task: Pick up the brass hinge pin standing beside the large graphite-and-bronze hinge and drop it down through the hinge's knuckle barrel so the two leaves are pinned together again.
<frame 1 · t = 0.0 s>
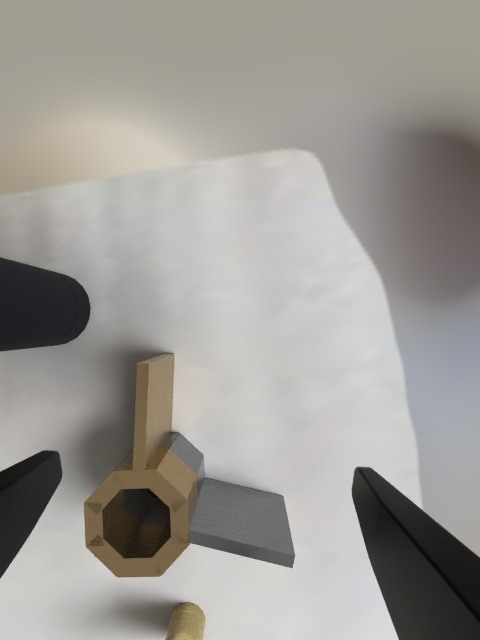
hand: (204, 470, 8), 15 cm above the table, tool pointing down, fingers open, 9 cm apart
hinge: (165, 472, 24), on the table
hinge pin: (188, 620, 23), on the table
dark tall rounded piece: (57, 309, 24), on the table
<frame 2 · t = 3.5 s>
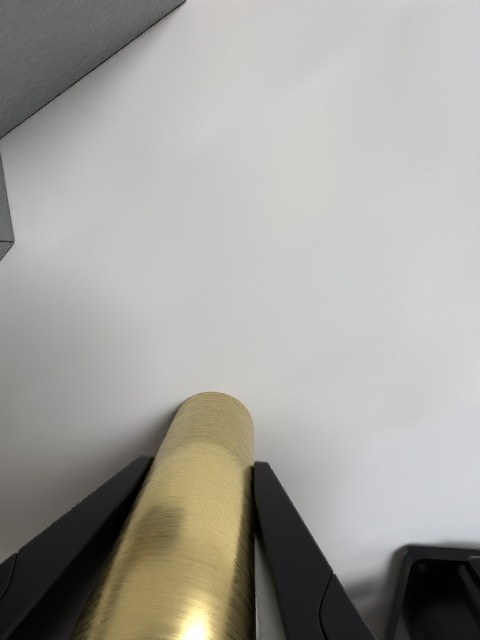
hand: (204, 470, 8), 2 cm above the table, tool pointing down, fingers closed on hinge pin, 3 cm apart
hinge pin: (213, 428, 10), on the table, touching gripper
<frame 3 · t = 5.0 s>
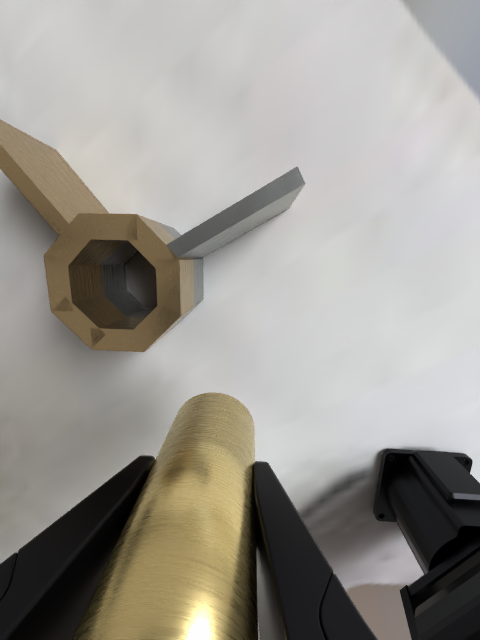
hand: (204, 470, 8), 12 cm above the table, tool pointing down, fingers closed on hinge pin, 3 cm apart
hinge: (155, 277, 20), on the table
hinge pin: (214, 429, 10), point 10 cm above the table, touching gripper
when the fingers open (8 cm above the table, at t = 6.9 s): hinge pin drops 7 cm, resting in hinge.
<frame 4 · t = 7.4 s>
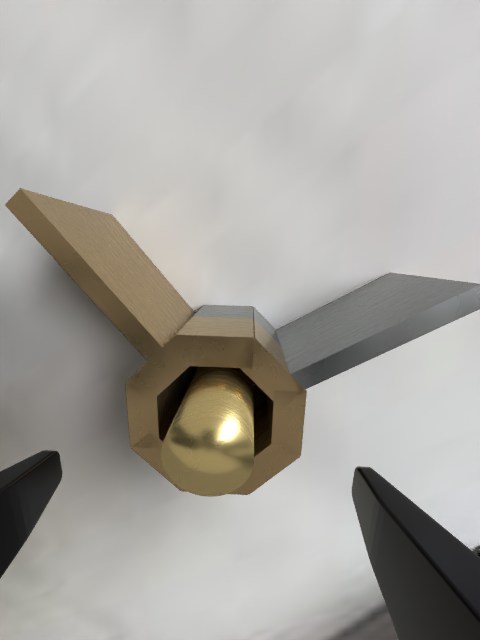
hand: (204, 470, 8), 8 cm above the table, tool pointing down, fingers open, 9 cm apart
hinge: (227, 361, 16), on the table
hinge pin: (228, 361, 16), resting in hinge
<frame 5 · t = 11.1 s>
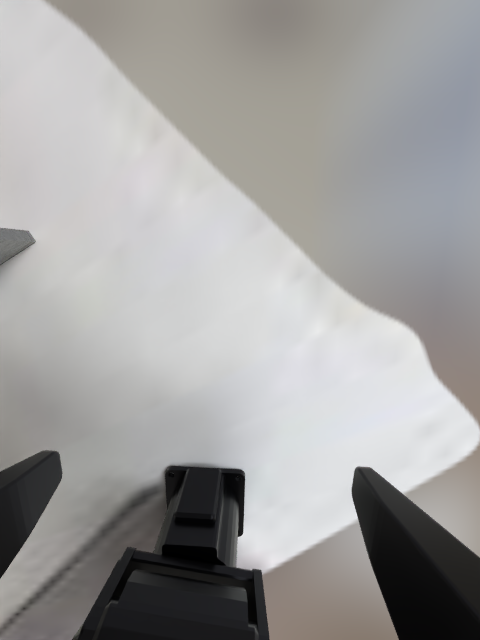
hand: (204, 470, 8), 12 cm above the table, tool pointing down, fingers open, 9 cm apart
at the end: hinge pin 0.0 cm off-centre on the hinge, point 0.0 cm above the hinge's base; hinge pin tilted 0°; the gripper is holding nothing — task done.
